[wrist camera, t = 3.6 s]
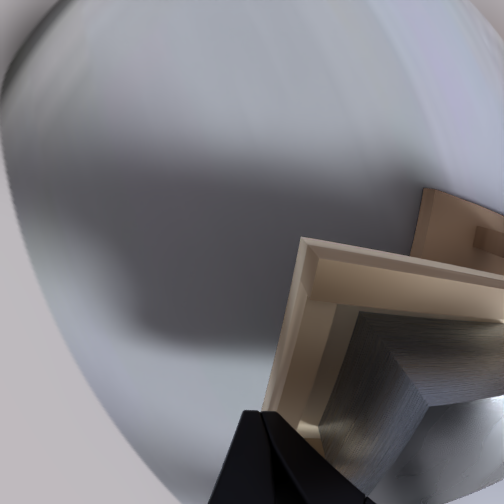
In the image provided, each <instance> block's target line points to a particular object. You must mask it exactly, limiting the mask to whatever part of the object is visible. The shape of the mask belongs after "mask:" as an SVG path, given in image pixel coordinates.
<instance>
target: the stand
mask: <svg viewBox="0 0 504 504" xmlns="http://www.w3.org/2000/svg"><path fill="white" fill-rule="evenodd" d="M410 257H415V258H421V259H426V260H431V261H436V262H441V263H446V264H451V265H455V266H460V267H465V268H470V269H475V270H479V271H484V272H489V273H494V274H498V275H503V276H504V216H503V215H500V214H498V213H496V212H493V211H491V210H489V209H486V208H484V207H481V206H479V205H476V204H474V203H471V202H469V201H466V200H463V199H461V198H458V197H455V196H453V195H450V194H447V193H444V192H442V191H439V190H436V189H429V188H424V189H423V195H422V201H421V206H420V211H419V216H418V221H417V226H416V231H415V235H414V240H413V244H412V248H411V252H410Z"/></svg>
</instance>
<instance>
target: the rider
mask: <svg viewBox="0 0 504 504" xmlns="http://www.w3.org/2000/svg"><path fill="white" fill-rule="evenodd" d="M318 429H319V433H320V437H321V442H322V446H323V450H324V454H325V458H326V460H327V461H328V462H329V463H330V464H331V465H332V466H333V467H334V468H335V469H337V470H338V471H339V472H340V473H341V474H342V475H343V476H344V477H345V478H347V479H348V480H349V481H350V482H351V483H352V484H353V485H355V486H356V487H357V488H358V489H359V490H360V491H362V492H363V493H364V494H365V497H369V498H370V499H371V500H372V501H374V502H375V503H376V504H444V503H448V502H450V501H453V500H456V499H458V498H462V497H464V496H467V495H469V494H472V493H474V492H477V491H479V490H481V489H483V488H486V487H488V486H490V485H493V484H495V483H497V482H499V481H501V480H502V479H503V478H504V323H493V322H476V321H462V320H448V319H436V318H424V317H413V316H403V315H392V314H383V313H373V312H364V311H359V313H358V317H357V320H356V323H355V326H354V330H353V333H352V336H351V339H350V342H349V345H348V348H347V351H346V354H345V357H344V360H343V363H342V366H341V368H340V371H339V374H338V377H337V379H336V382H335V385H334V387H333V390H332V393H331V395H330V398H329V400H328V403H327V405H326V408H325V410H324V413H323V415H322V418H321V420H320V422H319V425H318Z"/></svg>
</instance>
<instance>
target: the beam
mask: <svg viewBox="0 0 504 504" xmlns="http://www.w3.org/2000/svg"><path fill="white" fill-rule="evenodd" d="M359 311H364V312H373V313H383V314H392V315H403V316H413V317H424V318H436V319H448V320H462V321H476V322H493V323H504V276H503V275H498V274H494V273H489V272H484V271H479V270H475V269H470V268H465V267H460V266H455V265H451V264H446V263H441V262H436V261H431V260H426V259H421V258H415V257H410V256H405V255H400V254H395V253H390V252H384V251H379V250H374V249H368V248H363V247H357V246H352V245H346V244H341V243H335V242H330V241H324V240H318V239H313V238H307V237H301V238H300V243H299V248H298V253H297V258H296V263H295V268H294V273H293V278H292V283H291V287H290V292H289V297H288V301H287V306H286V310H285V315H284V319H283V324H282V328H281V332H280V337H279V341H278V345H277V349H276V354H275V358H274V362H273V366H272V370H271V374H270V378H269V382H268V386H267V390H266V394H265V398H264V402H263V406H262V410H261V411H276V412H278V413H279V414H280V415H281V416H282V417H283V418H284V419H285V420H286V421H287V422H288V423H289V424H290V425H291V426H292V427H293V428H294V429H295V430H296V431H297V432H298V433H299V434H300V435H301V436H302V437H303V438H304V439H305V440H306V441H307V442H308V443H309V444H310V445H311V446H312V447H313V448H314V449H315V450H316V451H317V452H318V453H319V454H320V455H321V456H323V457H324V458H325V454H324V450H323V446H322V442H321V437H320V433H319V429H318V425H319V422H320V420H321V418H322V415H323V413H324V410H325V408H326V405H327V403H328V400H329V398H330V395H331V393H332V390H333V387H334V385H335V382H336V379H337V377H338V374H339V371H340V368H341V366H342V363H343V360H344V357H345V354H346V351H347V348H348V345H349V342H350V339H351V336H352V333H353V330H354V326H355V323H356V320H357V317H358V313H359ZM325 459H326V458H325Z"/></svg>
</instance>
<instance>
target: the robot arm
mask: <svg viewBox="0 0 504 504" xmlns="http://www.w3.org/2000/svg"><path fill="white" fill-rule="evenodd" d="M208 504H376V503H375V502H374V501H372V500H371V499H370V498H369V497H365V494H364V493H363V492H362V491H360V490H359V489H358V488H357V487H356V486H355V485H353V484H352V483H351V482H350V481H349V480H348V479H347V478H345V477H344V476H343V475H342V474H341V473H340V472H339V471H338V470H337V469H335V468H334V467H333V466H332V465H331V464H330V463H329V462H328V461H327V460H326V459H325V458H324V457H323V456H321V455H320V454H319V453H318V452H317V451H316V450H315V449H314V448H313V447H312V446H311V445H310V444H309V443H308V442H307V441H306V440H305V439H304V438H303V437H302V436H301V435H300V434H299V433H298V432H297V431H296V430H295V429H294V428H293V427H292V426H291V425H290V424H289V423H288V422H287V421H286V420H285V419H284V418H283V417H282V416H281V415H280V414H279V413H278V412H276V411H261V412H259V411H257V410H244V411H243V412H242V415H241V417H240V420H239V423H238V426H237V429H236V431H235V434H234V437H233V439H232V442H231V445H230V447H229V450H228V453H227V455H226V458H225V461H224V463H223V466H222V469H221V471H220V474H219V476H218V479H217V481H216V484H215V486H214V489H213V492H212V494H211V497H210V499H209V501H208Z"/></svg>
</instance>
